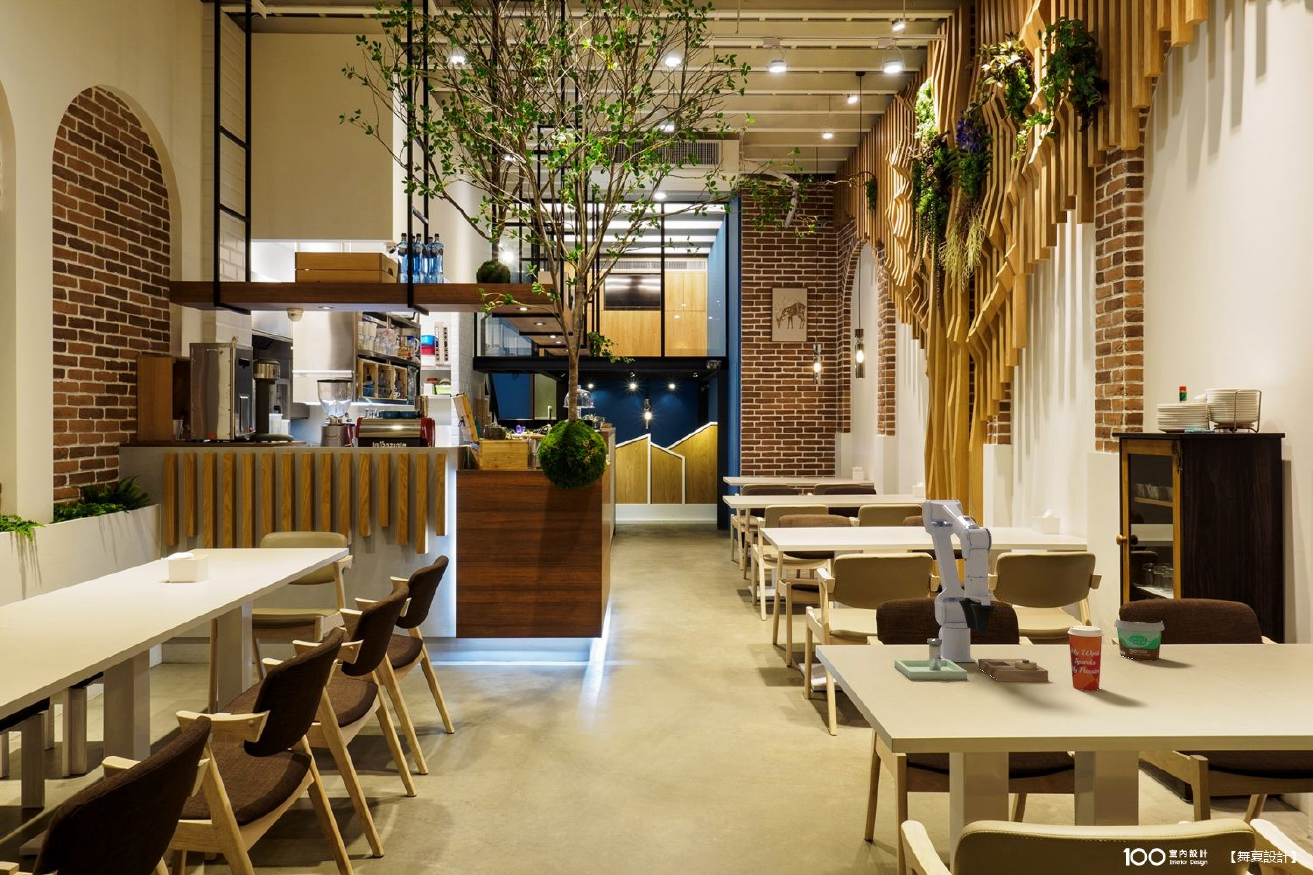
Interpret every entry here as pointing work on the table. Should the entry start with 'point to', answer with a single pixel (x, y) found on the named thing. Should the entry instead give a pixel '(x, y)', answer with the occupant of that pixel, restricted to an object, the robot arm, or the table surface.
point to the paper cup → (1085, 656)
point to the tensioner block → (1013, 669)
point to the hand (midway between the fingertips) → (977, 630)
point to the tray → (921, 671)
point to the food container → (1139, 639)
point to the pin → (934, 654)
